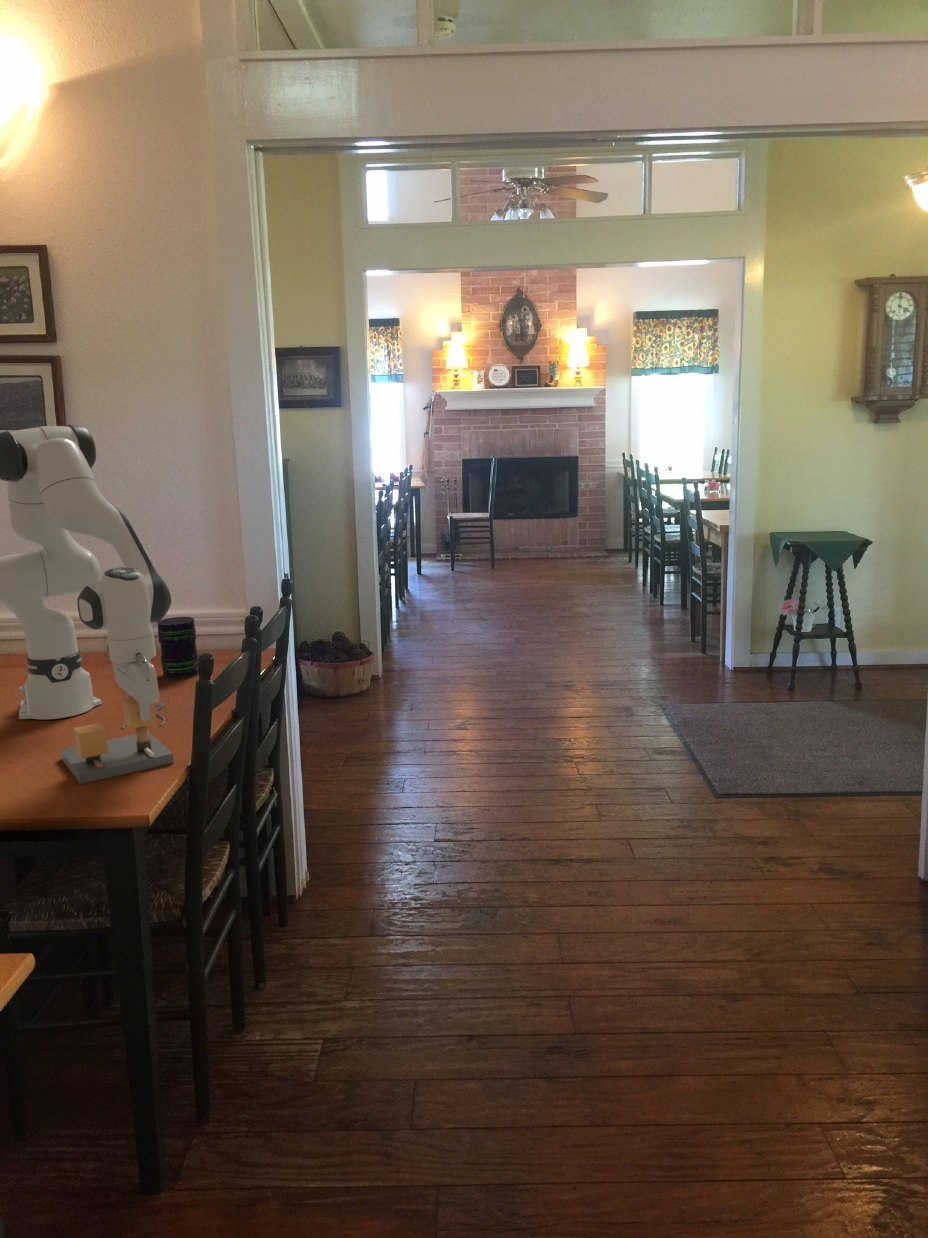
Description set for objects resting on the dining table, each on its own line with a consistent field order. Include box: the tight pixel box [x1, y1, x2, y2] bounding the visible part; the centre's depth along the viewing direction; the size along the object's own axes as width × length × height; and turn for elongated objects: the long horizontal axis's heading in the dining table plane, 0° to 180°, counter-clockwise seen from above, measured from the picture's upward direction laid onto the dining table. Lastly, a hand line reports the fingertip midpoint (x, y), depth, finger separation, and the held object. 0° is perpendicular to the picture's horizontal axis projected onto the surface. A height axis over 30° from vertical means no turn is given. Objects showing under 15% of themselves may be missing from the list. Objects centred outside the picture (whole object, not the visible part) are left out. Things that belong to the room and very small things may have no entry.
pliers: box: [121, 700, 167, 730], centre depth 230 cm, size 10×1×20 cm
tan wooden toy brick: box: [121, 697, 158, 730], centre depth 198 cm, size 5×5×5 cm
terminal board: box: [60, 722, 174, 785], centre depth 200 cm, size 18×18×9 cm
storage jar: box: [156, 616, 199, 680], centre depth 266 cm, size 10×10×15 cm
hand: (140, 716), depth 198 cm, fingers closed on tan wooden toy brick, 5 cm apart
